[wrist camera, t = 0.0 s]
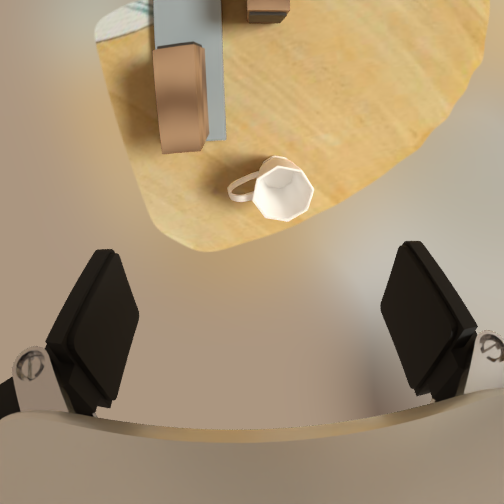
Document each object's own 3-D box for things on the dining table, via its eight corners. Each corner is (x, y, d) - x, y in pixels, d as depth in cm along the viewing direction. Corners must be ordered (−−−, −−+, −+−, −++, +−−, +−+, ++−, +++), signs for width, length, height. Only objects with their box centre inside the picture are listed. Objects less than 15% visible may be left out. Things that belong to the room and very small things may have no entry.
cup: (305, 188, 41) (317, 216, 35) (235, 201, 42) (233, 232, 36) (298, 141, 37) (310, 160, 31) (223, 155, 38) (218, 177, 32)
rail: (156, -60, 20) (150, -68, 17) (220, -69, 20) (218, -78, 17) (166, 142, 37) (159, 148, 34) (226, 137, 37) (224, 144, 34)
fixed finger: (171, 49, 29) (152, 46, 22) (204, 45, 29) (193, 40, 22) (178, 135, 35) (162, 154, 29) (209, 133, 35) (200, 151, 29)
